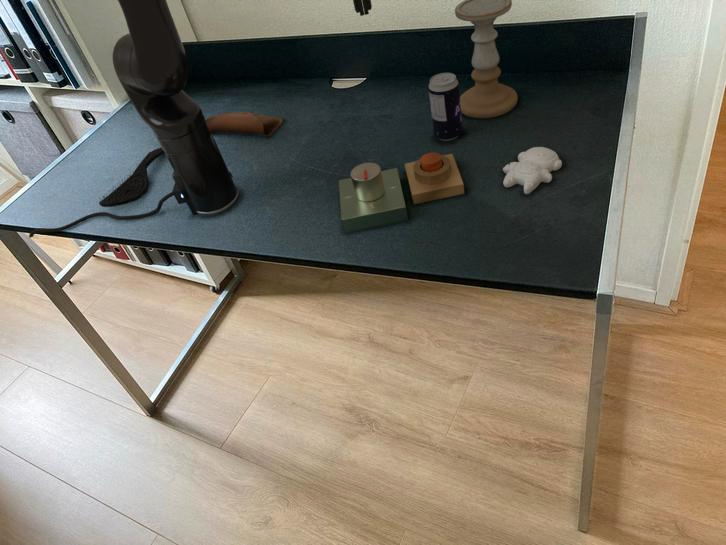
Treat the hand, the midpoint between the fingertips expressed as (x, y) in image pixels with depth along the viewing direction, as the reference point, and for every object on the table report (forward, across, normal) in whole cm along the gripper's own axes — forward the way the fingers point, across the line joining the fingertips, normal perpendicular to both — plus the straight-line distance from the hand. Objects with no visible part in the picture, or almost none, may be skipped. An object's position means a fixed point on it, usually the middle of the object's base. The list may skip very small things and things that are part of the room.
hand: (364, 13), depth 89 cm
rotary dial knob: (+24, +5, +17) cm, 30 cm away
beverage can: (+27, -12, -1) cm, 30 cm away
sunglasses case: (+27, +33, -24) cm, 49 cm away
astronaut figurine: (+27, -23, +17) cm, 39 cm away
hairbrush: (+27, +56, -10) cm, 63 cm away
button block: (+27, -7, +14) cm, 31 cm away
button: (+23, -7, +14) cm, 28 cm away
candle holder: (+27, -22, -10) cm, 36 cm away
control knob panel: (+27, +5, +17) cm, 32 cm away
